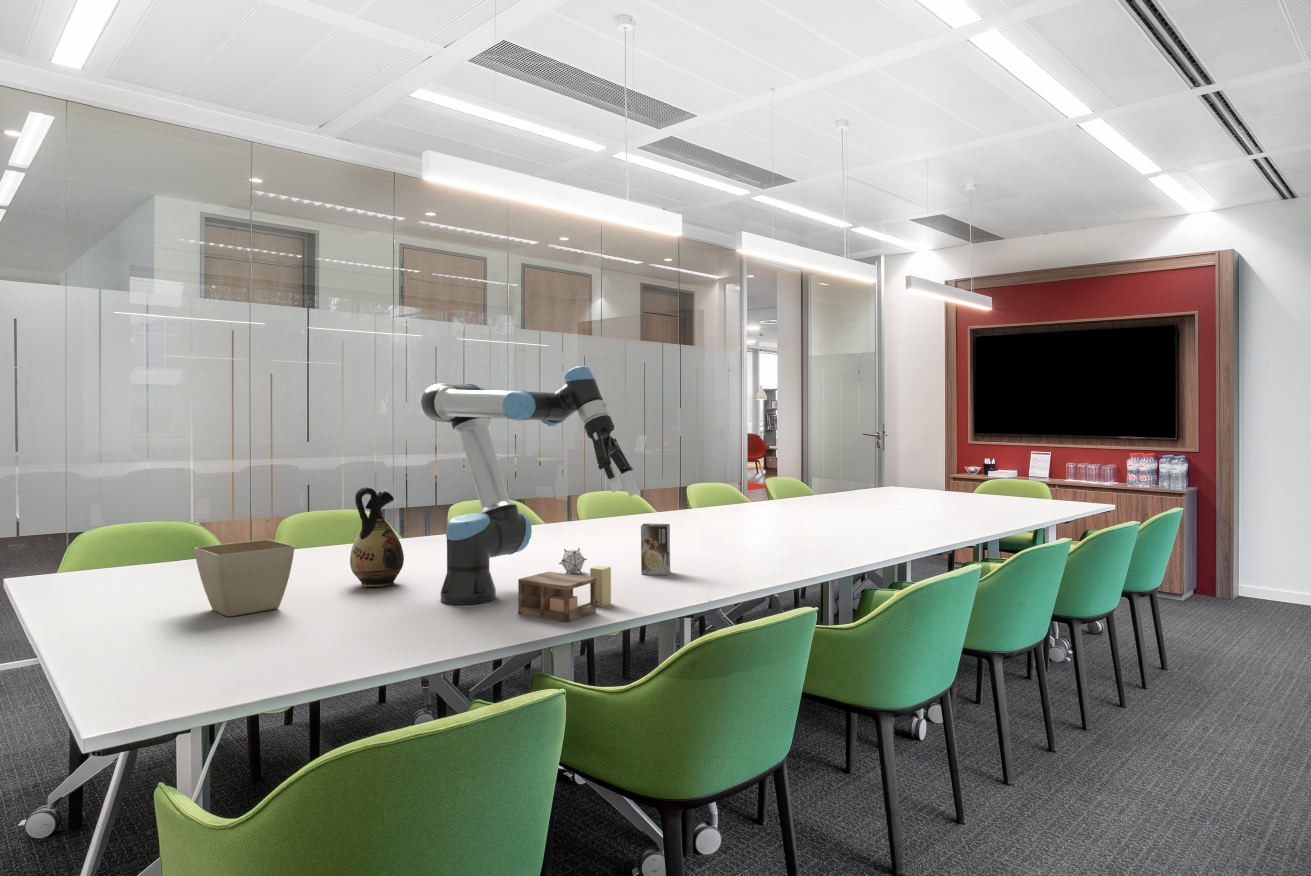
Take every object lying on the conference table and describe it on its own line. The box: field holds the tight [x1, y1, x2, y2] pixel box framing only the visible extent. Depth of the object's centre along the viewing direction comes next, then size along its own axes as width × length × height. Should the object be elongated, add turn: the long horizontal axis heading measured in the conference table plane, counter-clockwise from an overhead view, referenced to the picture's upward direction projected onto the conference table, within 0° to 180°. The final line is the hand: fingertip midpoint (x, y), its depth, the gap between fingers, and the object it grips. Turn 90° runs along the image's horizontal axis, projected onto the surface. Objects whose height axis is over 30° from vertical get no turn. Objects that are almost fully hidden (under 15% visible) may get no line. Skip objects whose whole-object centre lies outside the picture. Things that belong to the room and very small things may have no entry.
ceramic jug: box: [349, 486, 405, 588], centre depth 234 cm, size 17×15×30 cm
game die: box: [558, 547, 588, 574], centre depth 253 cm, size 9×8×10 cm
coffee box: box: [640, 523, 671, 576], centre depth 253 cm, size 9×6×16 cm
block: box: [550, 565, 612, 612], centre depth 203 cm, size 20×5×10 cm, turn 148°
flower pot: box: [193, 539, 296, 617], centre depth 204 cm, size 19×19×17 cm
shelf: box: [517, 571, 597, 623], centre depth 200 cm, size 12×16×9 cm
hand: (626, 492), depth 200 cm, fingers open, 13 cm apart
